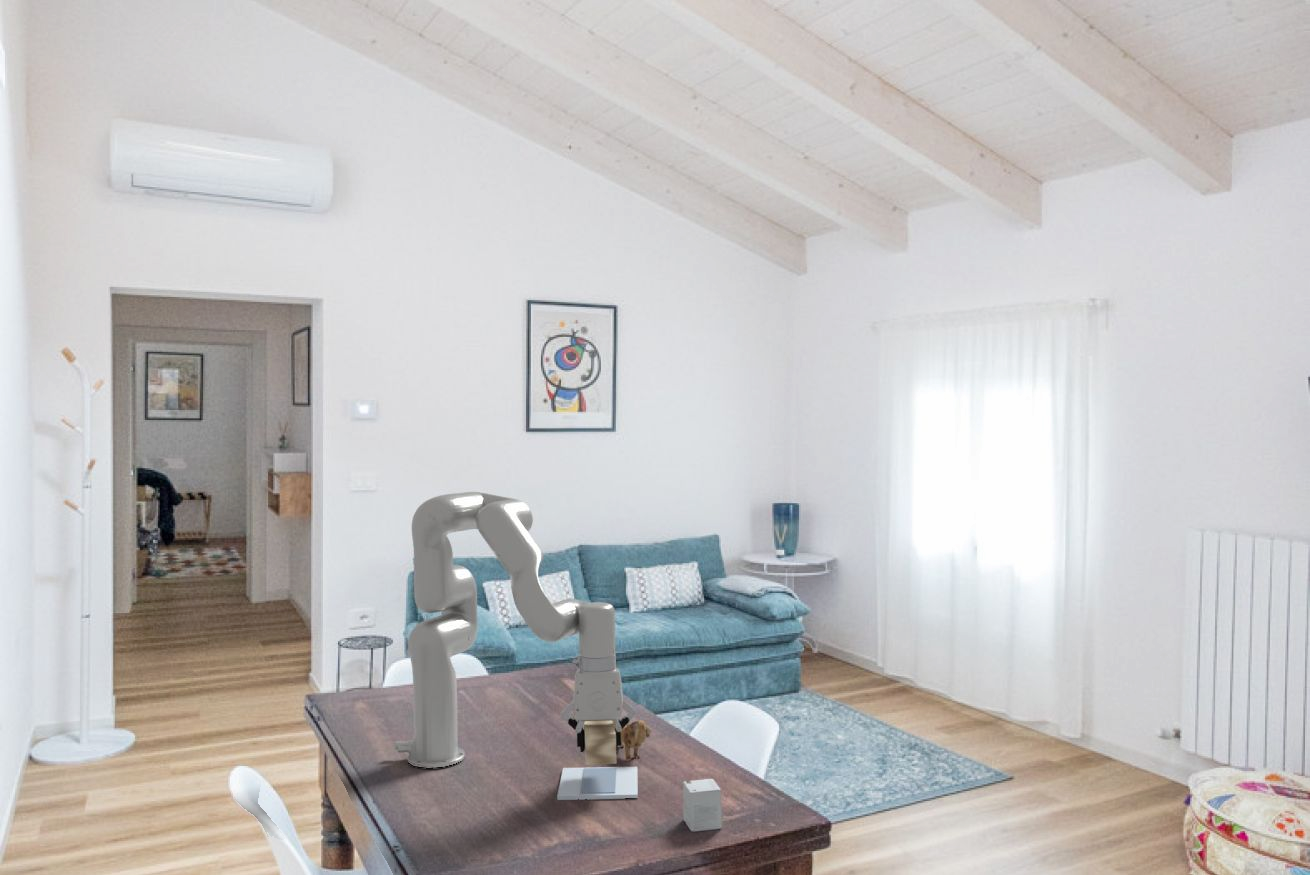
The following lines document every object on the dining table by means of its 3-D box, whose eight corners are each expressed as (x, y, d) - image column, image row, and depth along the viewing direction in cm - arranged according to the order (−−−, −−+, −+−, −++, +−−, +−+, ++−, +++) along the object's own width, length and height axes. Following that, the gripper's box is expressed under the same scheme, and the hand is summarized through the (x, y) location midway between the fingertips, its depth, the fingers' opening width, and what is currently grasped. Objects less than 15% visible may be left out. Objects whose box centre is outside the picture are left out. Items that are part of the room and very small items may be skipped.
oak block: (586, 765, 197) (585, 735, 197) (583, 744, 210) (582, 716, 210) (616, 763, 198) (615, 733, 198) (611, 742, 211) (610, 714, 211)
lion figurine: (655, 761, 218) (654, 720, 218) (635, 766, 215) (635, 725, 215) (618, 744, 230) (617, 705, 230) (598, 748, 227) (598, 709, 227)
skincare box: (722, 829, 182) (722, 789, 181) (690, 832, 180) (690, 792, 180) (713, 816, 187) (713, 777, 187) (682, 819, 186) (682, 780, 186)
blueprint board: (557, 800, 196) (557, 795, 196) (563, 771, 212) (563, 767, 212) (637, 798, 197) (637, 793, 197) (637, 770, 213) (637, 765, 213)
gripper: (554, 668, 200) (556, 756, 200) (639, 666, 200) (641, 754, 201) (557, 660, 208) (558, 744, 208) (639, 658, 208) (640, 742, 208)
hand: (599, 748), depth 204 cm, fingers closed on oak block, 6 cm apart
